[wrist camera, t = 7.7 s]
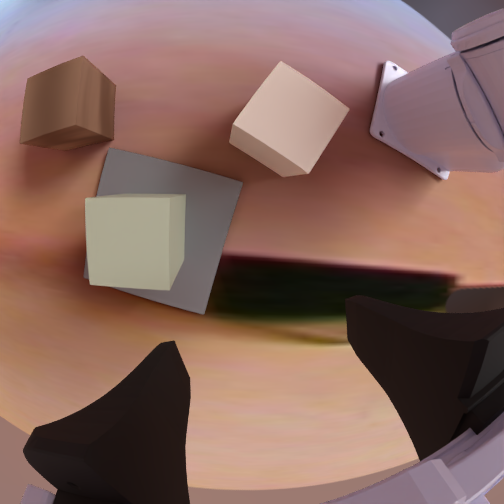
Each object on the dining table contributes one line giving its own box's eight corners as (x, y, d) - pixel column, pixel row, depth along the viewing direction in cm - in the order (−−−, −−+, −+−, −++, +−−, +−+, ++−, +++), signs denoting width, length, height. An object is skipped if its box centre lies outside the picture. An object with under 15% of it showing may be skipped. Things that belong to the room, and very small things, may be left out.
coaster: (242, 182, 19) (243, 182, 18) (204, 311, 21) (204, 314, 20) (112, 148, 17) (109, 147, 16) (86, 275, 19) (83, 277, 18)
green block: (186, 194, 18) (170, 197, 12) (184, 259, 19) (169, 290, 13) (124, 193, 17) (85, 198, 11) (124, 256, 18) (89, 284, 12)
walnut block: (116, 85, 16) (83, 55, 10) (114, 139, 17) (75, 124, 11) (68, 99, 15) (27, 78, 10) (65, 150, 16) (19, 143, 11)
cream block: (314, 128, 18) (349, 109, 13) (282, 177, 19) (308, 173, 13) (263, 94, 17) (280, 60, 12) (229, 142, 18) (232, 123, 12)
